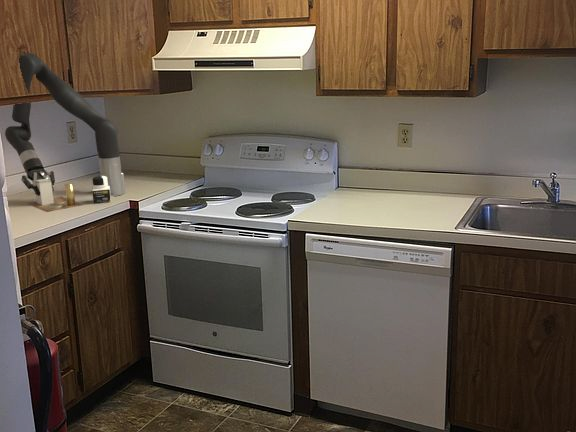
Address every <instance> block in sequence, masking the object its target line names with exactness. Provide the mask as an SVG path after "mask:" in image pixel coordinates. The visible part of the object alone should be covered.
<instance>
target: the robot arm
mask: <svg viewBox="0 0 576 432" xmlns="http://www.w3.org/2000/svg"><path fill="white" fill-rule="evenodd" d="M27 53H28V54H25V53H23V54H24V55H23V54H21V55H19V56H20V58H19V63H20V69H21V72H22V76H23V79H24V82H25V84H26V85H25V86H26V88H27V90H28V93H30V94H31V84H32V81H33V78H34V77H33V75H34V74H36V78H37V79H36V78H35V79H36V80H37V81H39V82H40V84H42V85H43V86H44V87H45V89H46V90H47V92H48V93H49V95H50V96H51V97H52V98H53V100H54V101H55V102H56V104H57V105H59V106H60V107H61V108H63V109H64V110H65V111H67V113H70V115H72V116H74V117H76V118H77V119H79V120H81V121H82V122H84V123H85V124H86V125H88V126H89V127H90V128H91V129H92V130H93V131H94V136H95V137H94V138H95V144H96V150H97V156H98V162H99V163H98V165H99V171H100V172H99V173H100V176H106V177H107V181H108V186H110V195H111V197H117V196H122V195H124V194H126V184H125V175H124V172H122V164H121V157H120V156H121V155H120V149H119V148H120V147H119V142H118V132H119V129H118V127H117V125H116V124H115V123H114V122H113V121H112V120H110V119H109V118H107V117H106V116H104V115H103V114H101V113H100V112H99V111H98V110H97V109H95V108H94V107H93V106H92V104H90V103H89V101H87V99H85V97H83V96H82V95H81V94H80V93H79V92H78V90H76V89H74V88H73V87H72V86H70V85H69V83H67V82H66V81H65V80H63V79H62V78H61V77H60V76H58V75H57V74H56V73H55V72H53V70H52V69H51V68H50V67H49V66H48V65H47V64H46V63H45V62H44V61H43V59H41V58H40V57H39V56H38V55H36V54H35V53H32V52H27ZM31 108H32V101H31V102H30V103H22V104H15V105H14V104H13V107H12V112H11V113H12V114H11V119H12V120H13V121H14V122H16V123H19V124H21V125H16V126H15V125H9V126H7V128H6V129H5V130H4V136H5V139H6V140H7V142H8V144H10V145H11V146H12V147H13V149H14V150H15V151H16V152H17V154H18V156H19V160H20V163H21V165H22V167H23V169H24V171H25V173H26V175H22V177H21V182H22V183H23V184H24V185H25V187H26V188H27V190H33V192H34V193H35V195H38V196H40V191H39V189H38V187H37V186H36V185H37V184H36V182H35V181H37V180H40V179H49V180H51V185H52V192H53V193H54V191H55V188H54V187H53V186H54V185H55V182H56V177H55V174H54V173H55V172H54V171H53V170H51V171H50V172H49V171H47V170H45V167H44V165H43V163H42V161H41V159H40V157H39V155H38V153H37V151H36V149H35V148H34V147H35V146H34V145H33V144H32V142H30V140H31V138H32V131H31V124H30V116H31ZM30 181H32V182H30Z"/></svg>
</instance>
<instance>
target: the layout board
mask: <svg viewBox="0 0 576 432" xmlns="http://www.w3.org/2000/svg"><path fill="white" fill-rule="evenodd" d="M53 199H54V203H51V204H46V205H41V204H38V203H37V200H36V201H30V202H26V203H25V204H27V205H29V206H31V207H34V208H36V209H38V210H41V211H44V212H45V213H50V212H55V211H59V210H64V209H69V208H75V207H80V206H85V204H83V203H80V202H78V201H75V204H76V205H74V206H68V205H67V197H65V196H64V197H63V196H57V197H53Z"/></svg>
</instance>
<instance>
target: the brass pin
mask: <svg viewBox="0 0 576 432" xmlns="http://www.w3.org/2000/svg"><path fill="white" fill-rule="evenodd" d="M64 187H65V188H64V189H65V195H66V197H65V198H67V205H68V206H74V205H76V204H75V202H76V199H75V198H76V197H75V189H74V183H72V182H71V183H69V182H68V183H65V184H64Z"/></svg>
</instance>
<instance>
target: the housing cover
mask: <svg viewBox="0 0 576 432" xmlns="http://www.w3.org/2000/svg"><path fill="white" fill-rule="evenodd" d="M35 182H36V184H37V185H36V186H37V187H38V189H39V191H40V196H38V195H36V194H35V195H36V196H35V198H36V201H37V203H38V204H41V205H46V204H51V203H54V199H53V198H54V192H52V186H53V185H51V180H50V178H48V179H40V180H37V181H35Z"/></svg>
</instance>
